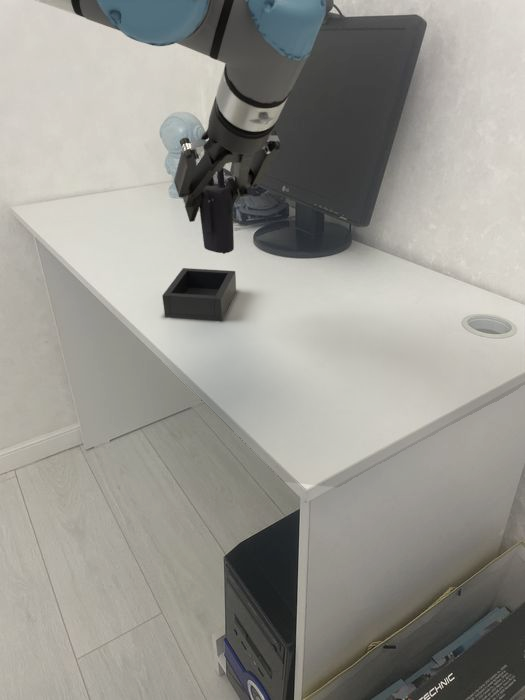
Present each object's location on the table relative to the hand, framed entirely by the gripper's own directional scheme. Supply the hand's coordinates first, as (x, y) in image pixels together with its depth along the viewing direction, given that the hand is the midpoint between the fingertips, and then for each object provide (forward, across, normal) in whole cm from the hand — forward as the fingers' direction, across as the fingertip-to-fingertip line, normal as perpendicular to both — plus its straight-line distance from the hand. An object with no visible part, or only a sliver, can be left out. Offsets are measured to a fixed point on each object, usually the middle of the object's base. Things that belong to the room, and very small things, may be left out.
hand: (206, 211), depth 81 cm
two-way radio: (+1, 0, -6) cm, 7 cm away
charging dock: (+18, 0, -9) cm, 20 cm away
